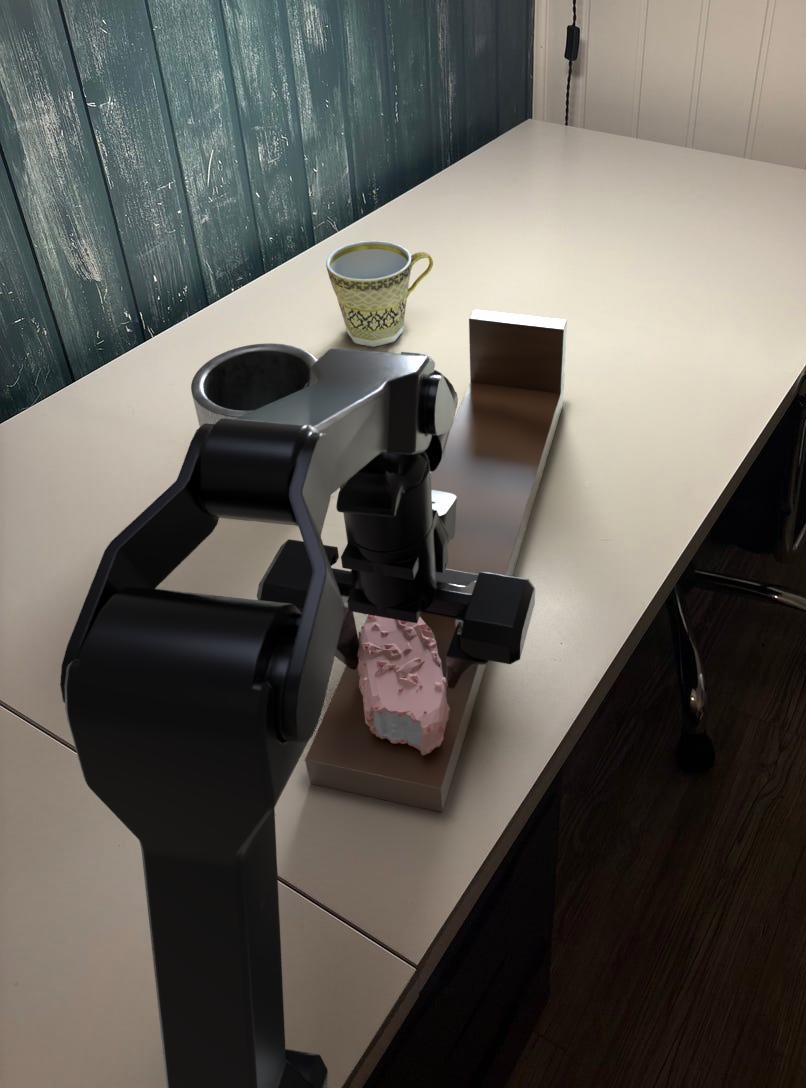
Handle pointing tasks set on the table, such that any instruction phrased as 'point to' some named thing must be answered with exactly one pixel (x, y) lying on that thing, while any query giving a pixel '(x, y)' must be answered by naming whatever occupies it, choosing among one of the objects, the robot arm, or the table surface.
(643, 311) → the table surface
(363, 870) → the table surface
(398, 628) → the ice cream bar
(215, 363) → the planter
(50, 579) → the table surface
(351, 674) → the shelf
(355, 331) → the ceramic cup
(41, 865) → the table surface
